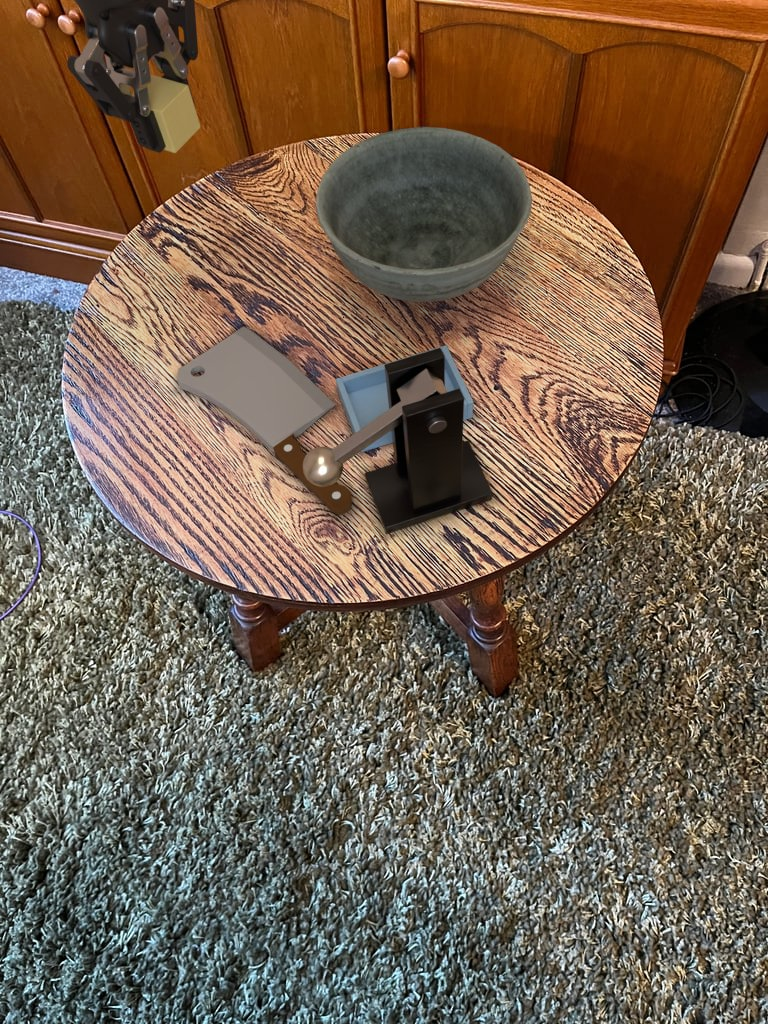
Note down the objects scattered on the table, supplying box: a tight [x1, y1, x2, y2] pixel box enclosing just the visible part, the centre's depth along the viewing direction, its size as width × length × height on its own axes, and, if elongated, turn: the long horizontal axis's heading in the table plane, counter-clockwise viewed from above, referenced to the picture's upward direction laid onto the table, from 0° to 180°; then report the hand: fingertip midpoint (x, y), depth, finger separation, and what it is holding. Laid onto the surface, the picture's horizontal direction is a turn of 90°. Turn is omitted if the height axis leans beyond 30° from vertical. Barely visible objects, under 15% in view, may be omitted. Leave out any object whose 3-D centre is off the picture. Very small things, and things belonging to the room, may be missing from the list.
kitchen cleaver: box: [177, 326, 353, 516], centre depth 74 cm, size 24×1×10 cm
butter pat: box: [131, 74, 202, 154], centre depth 68 cm, size 4×4×4 cm
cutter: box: [364, 347, 494, 535], centre depth 62 cm, size 10×6×16 cm, turn 108°
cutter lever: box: [303, 369, 447, 487], centre depth 59 cm, size 13×3×3 cm
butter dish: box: [335, 345, 474, 453], centre depth 73 cm, size 11×7×2 cm, turn 108°
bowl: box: [315, 126, 533, 303], centre depth 78 cm, size 21×21×10 cm
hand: (169, 132), depth 70 cm, fingers closed on butter pat, 4 cm apart
